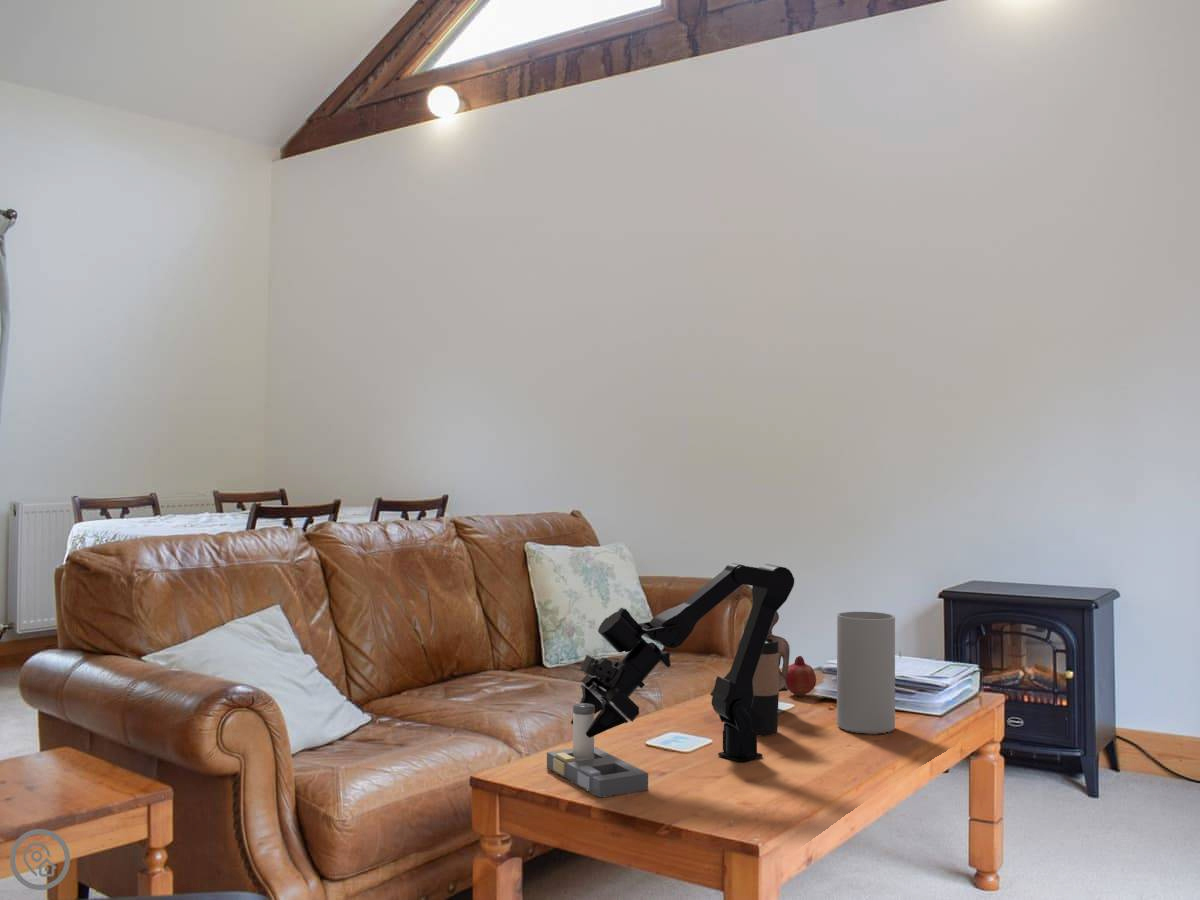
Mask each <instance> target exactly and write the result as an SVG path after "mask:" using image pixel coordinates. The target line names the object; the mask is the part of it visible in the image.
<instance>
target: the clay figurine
mask: <svg viewBox="0 0 1200 900" xmlns="http://www.w3.org/2000/svg"><path fill="white" fill-rule="evenodd" d="M779 618H780V616H779V612H778V610H777V611H776V613H775V615H774V618H773V621H772V624H771V627H770V630H769V633H768V636H767V638H770V639H772V640H773V641H774V642H777V641H778V662H779V693H781V692H788V691H789V690H788V687H787V685H786V681H785V679H784V678H786V676H787V672H788V667H789V665H790V654H791V653H790V652H791V651H790V649H791V647H790V644H789V642H788V641H787V640H786V638H785V637H782V636H778V635H775V634H773V629H774V626H775V625H776V624H777V623H778V621H779ZM741 638H742V635H741V636H740V638H739V640H738V644H737V648H738V647H739V644H740V641H741ZM781 661H782V668H781V669H780V666H781Z"/></svg>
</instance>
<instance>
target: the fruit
mask: <svg viewBox="0 0 1200 900" xmlns="http://www.w3.org/2000/svg"><path fill="white" fill-rule="evenodd" d="M784 679H785V681H786V685H787V687H788V691H789V692H790V693H792V694H794V695H797V696H800V695H801V696H802V695H803V696H804V695H807V694H809V693H811V692H812V691H813V690H814V688H815V687H816V684H817V676H816V673H815V670H814V669H813V667H812V666H811V665H809V664H807V663H806V662H805V659H804V657H803V655H798V656H796V657H795V660H794V663H791V664H789V667H788V672H787V676H786V678H784Z"/></svg>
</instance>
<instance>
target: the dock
mask: <svg viewBox="0 0 1200 900" xmlns="http://www.w3.org/2000/svg"><path fill="white" fill-rule="evenodd" d="M546 768H547V769H548V768H549V769H548V770H550V769H551V770H552V772H553V771H554V773H556V774H557V775H558V774H559V776H560V777H561V778H563V779H565V778H566V780H567V779H568V780H567V781H569V782H571V783H572V782H573V784H574V783H575V785H576V784H577V785H576V786H578V785H579V786H581V787H582V788H581V787H580V788H581V789H583V788H584V789H586V790H588V791H589V792H588V791H587V792H588V793H590V792H591V793H593V794H595V795H596V796H595V795H594V796H595V797H597V796H598V797H603V798H605V797H604V796H609V797H613V796H612V795H615V796H619V795H618V794H621V795H624V794H623V793H626V794H630V793H629V792H632V793H636V792H635V791H638V792H642V791H641V790H644V791H648V790H649V773H648V772H647V771H645V770H643V769H641V768H639V767H637V766H634V765H632V764H630V763H628V762H627V761H624V760H622V759H621V758H618V757H616V756H614V755H612V754H610V753H609V752H606V751H604V750H602V749H600V748H598V747H596V746H594V759H589V760H583V761H575V758H574V757H573V748H567V749H560V750H552V751H547V752H546ZM551 770H550V771H551ZM579 786H578V787H579ZM584 789H583V790H584ZM586 790H585V791H586ZM591 793H590V794H591ZM593 794H592V795H593ZM598 797H597V798H598Z"/></svg>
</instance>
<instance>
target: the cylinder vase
mask: <svg viewBox="0 0 1200 900" xmlns="http://www.w3.org/2000/svg"><path fill="white" fill-rule="evenodd" d="M836 619H837V620H836V660H837V661H836V724H837V726H838V727H839V728H840V729H842V730H843V729H844V730H843V731H846V732H849V731H850V733H853V732H856V733H855V734H859V733H869V734H868V735H880V734H879V733H884V734H887V733H886V732H888V733H891V732H893V731H894V730H895V727H896V615H895V614H890V613H886V612H885V613H884V612H877V611H876V612H875V611H845V612H843V611H842V612H839V613H837V614H836ZM876 733H878V734H876Z"/></svg>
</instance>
